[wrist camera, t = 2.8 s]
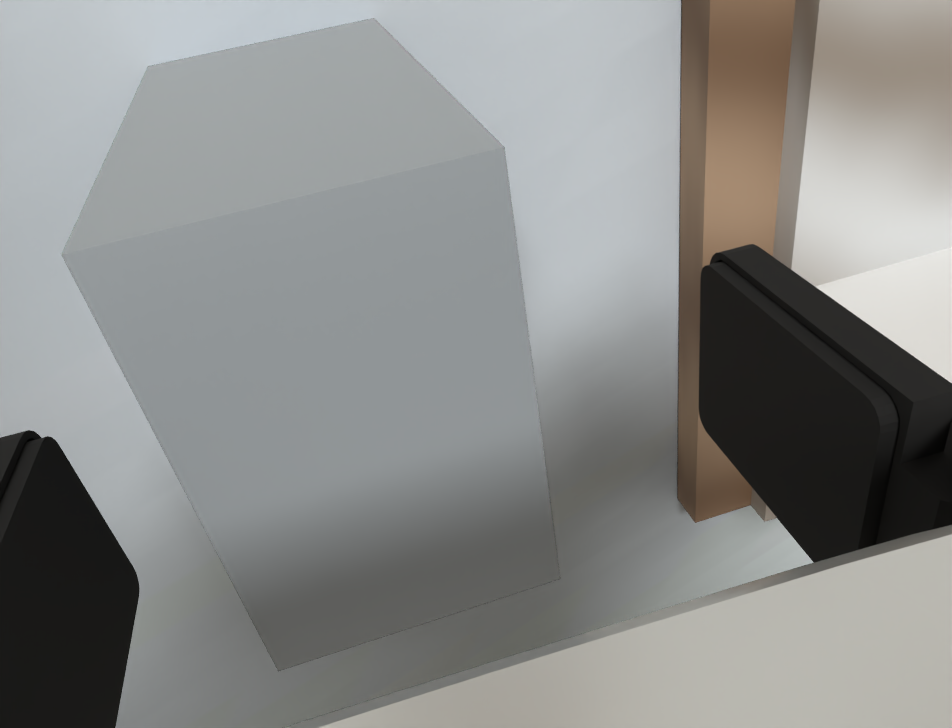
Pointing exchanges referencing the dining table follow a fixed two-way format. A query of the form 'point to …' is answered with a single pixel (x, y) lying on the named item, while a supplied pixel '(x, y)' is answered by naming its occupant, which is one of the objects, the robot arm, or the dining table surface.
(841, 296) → the block
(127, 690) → the dining table surface
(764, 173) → the rail board
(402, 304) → the block
